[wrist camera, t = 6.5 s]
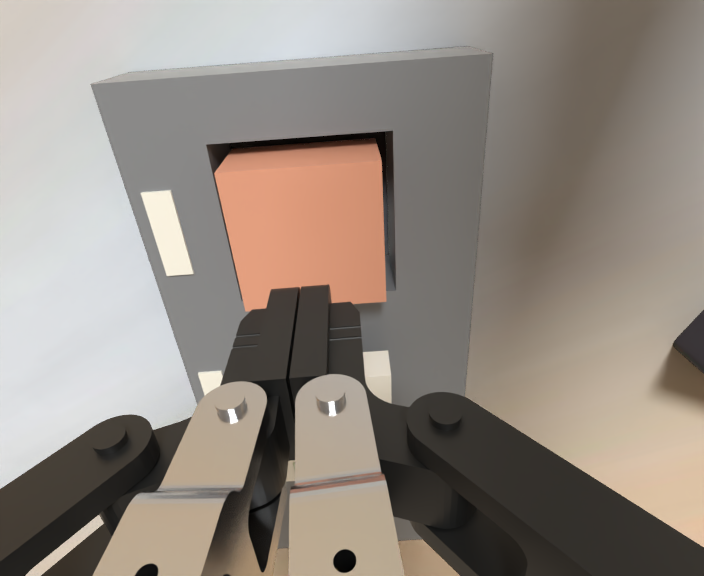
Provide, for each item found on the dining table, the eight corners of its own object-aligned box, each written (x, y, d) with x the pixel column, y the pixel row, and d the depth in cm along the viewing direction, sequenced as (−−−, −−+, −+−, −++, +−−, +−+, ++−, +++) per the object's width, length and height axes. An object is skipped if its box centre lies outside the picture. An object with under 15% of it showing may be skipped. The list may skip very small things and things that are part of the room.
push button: (232, 148, 16) (214, 173, 14) (374, 137, 16) (381, 160, 14) (257, 272, 19) (245, 311, 16) (380, 264, 19) (386, 301, 16)
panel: (129, 72, 16) (81, 87, 13) (468, 46, 16) (498, 55, 13) (253, 503, 29) (244, 561, 26) (442, 490, 29) (455, 547, 26)
